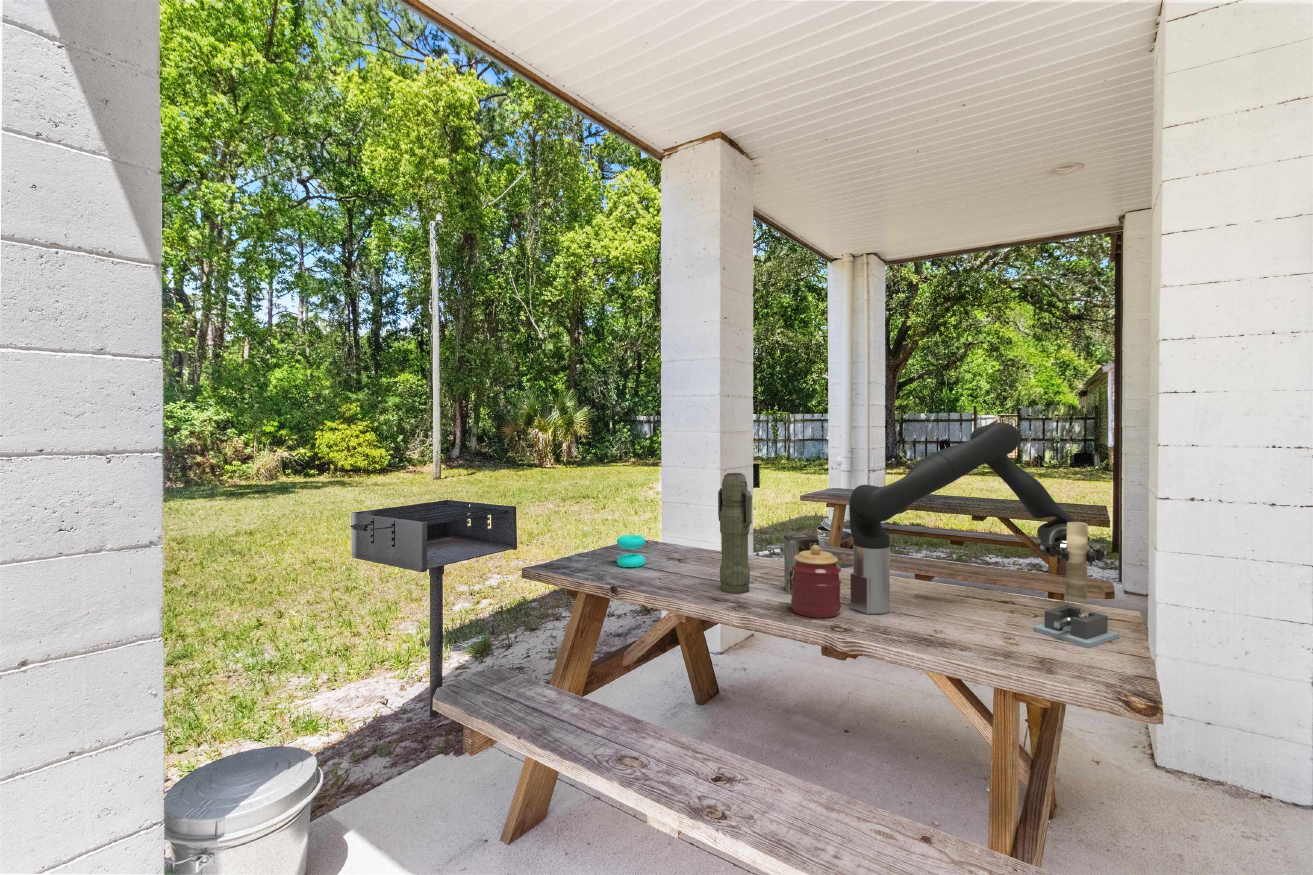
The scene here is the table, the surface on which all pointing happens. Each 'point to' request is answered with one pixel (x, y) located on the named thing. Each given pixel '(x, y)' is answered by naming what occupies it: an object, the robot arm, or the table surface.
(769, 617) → the table surface
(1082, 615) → the plunger
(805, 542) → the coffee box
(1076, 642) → the band socket
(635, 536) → the donuts
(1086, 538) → the birch dowel
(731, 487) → the thermos
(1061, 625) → the plunger
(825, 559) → the canister
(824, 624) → the table surface
